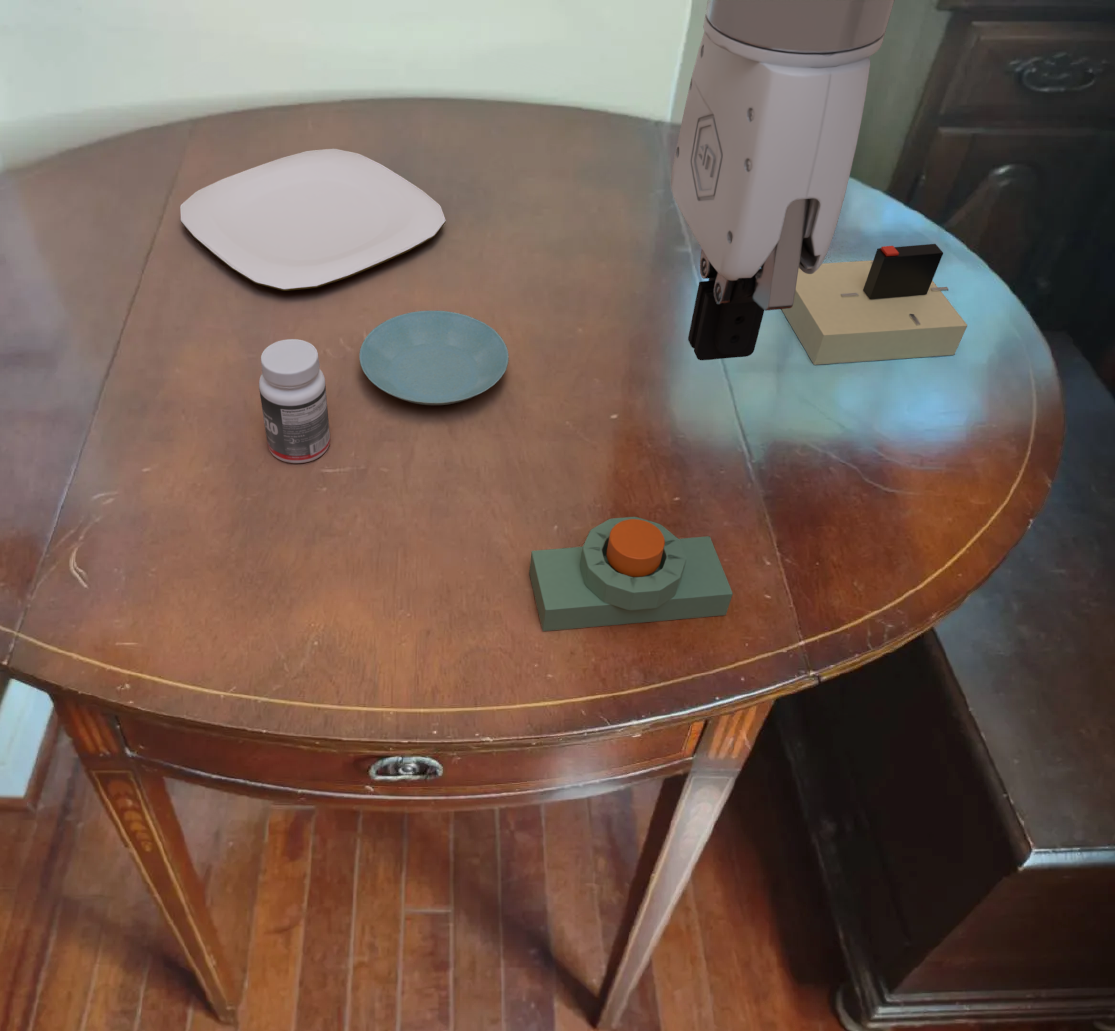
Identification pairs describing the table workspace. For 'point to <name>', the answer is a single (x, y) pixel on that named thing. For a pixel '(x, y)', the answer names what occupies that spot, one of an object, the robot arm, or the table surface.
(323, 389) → the pill bottle
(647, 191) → the table surface
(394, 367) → the saucer
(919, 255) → the knob
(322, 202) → the plate
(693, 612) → the block
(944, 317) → the panel
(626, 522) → the button
